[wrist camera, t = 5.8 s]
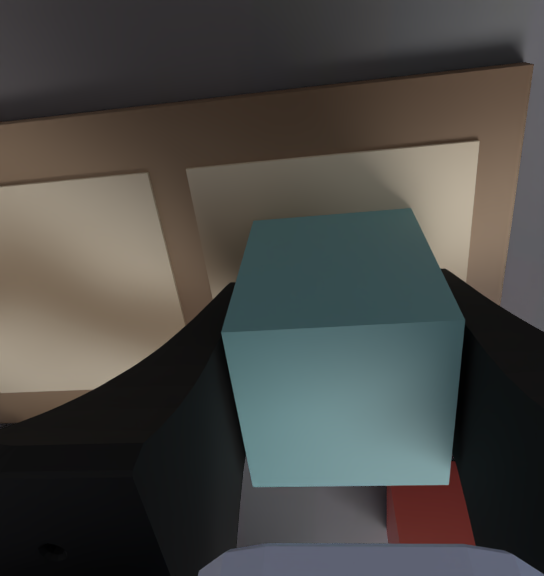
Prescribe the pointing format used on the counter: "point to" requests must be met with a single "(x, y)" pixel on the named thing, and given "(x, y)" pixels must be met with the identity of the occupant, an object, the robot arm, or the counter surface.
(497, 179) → the game board
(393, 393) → the teal rectangular block
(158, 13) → the counter surface
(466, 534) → the red die
